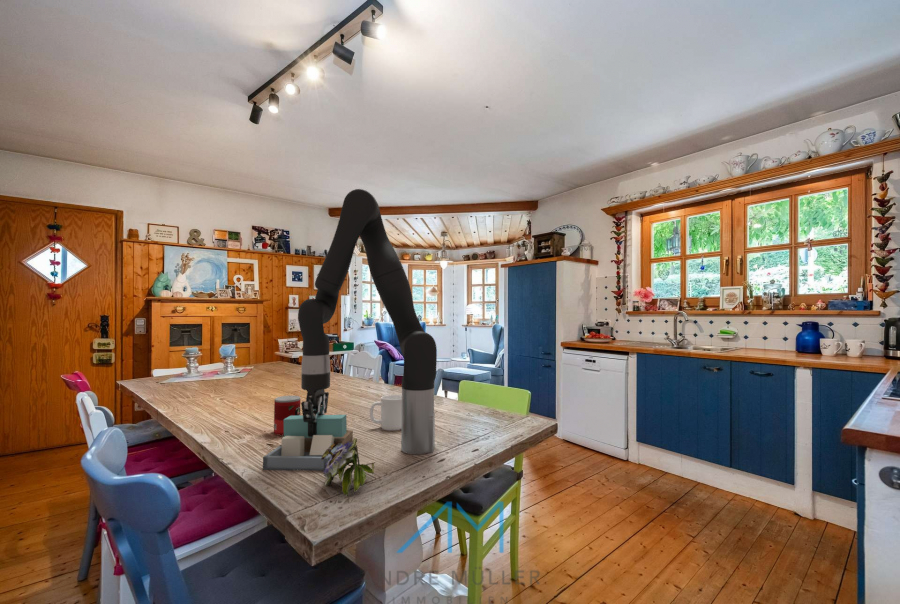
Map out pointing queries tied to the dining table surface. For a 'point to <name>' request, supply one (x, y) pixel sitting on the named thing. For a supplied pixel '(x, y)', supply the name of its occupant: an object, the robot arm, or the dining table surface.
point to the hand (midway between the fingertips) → (315, 433)
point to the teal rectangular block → (325, 425)
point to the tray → (295, 461)
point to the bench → (346, 438)
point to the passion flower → (339, 463)
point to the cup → (389, 412)
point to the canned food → (285, 411)
